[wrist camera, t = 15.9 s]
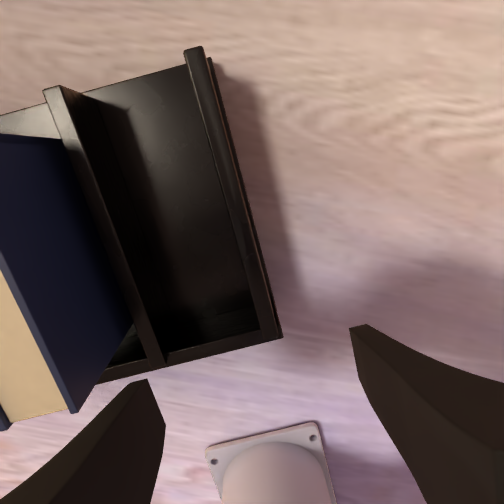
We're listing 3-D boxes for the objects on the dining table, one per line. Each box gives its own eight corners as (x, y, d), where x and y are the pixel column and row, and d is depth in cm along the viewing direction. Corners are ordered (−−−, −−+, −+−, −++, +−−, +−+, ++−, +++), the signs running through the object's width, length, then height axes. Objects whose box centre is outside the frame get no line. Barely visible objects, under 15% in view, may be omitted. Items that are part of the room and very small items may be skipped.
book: (139, 314, 20) (78, 412, 12) (90, 326, 20) (-1, 432, 13) (72, 139, 17) (-59, 127, 10) (16, 154, 17) (-159, 155, 10)
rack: (275, 305, 21) (285, 343, 17) (-8, 376, 22) (-68, 431, 18) (212, 61, 18) (203, 31, 13) (-129, 156, 18) (-243, 156, 14)
